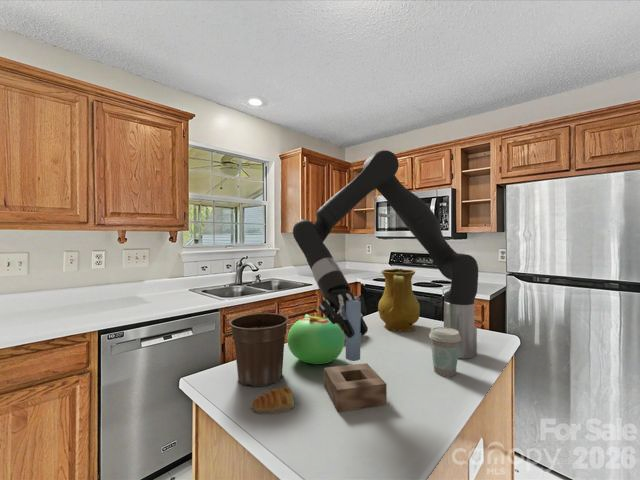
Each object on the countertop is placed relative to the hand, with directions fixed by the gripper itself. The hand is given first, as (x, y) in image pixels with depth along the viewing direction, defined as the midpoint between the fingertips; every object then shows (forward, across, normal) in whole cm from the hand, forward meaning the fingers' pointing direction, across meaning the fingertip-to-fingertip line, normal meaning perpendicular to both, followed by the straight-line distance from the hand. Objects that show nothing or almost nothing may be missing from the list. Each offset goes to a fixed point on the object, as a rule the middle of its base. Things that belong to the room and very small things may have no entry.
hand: (358, 334), depth 77 cm
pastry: (+6, -18, +18) cm, 26 cm away
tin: (-14, +26, +37) cm, 47 cm away
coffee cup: (+13, +30, +9) cm, 34 cm away
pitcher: (-13, +51, +35) cm, 64 cm away
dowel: (+3, 0, +6) cm, 7 cm away
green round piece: (-6, +4, +29) cm, 30 cm away
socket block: (+10, 0, +12) cm, 16 cm away
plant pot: (-6, -15, +29) cm, 33 cm away
